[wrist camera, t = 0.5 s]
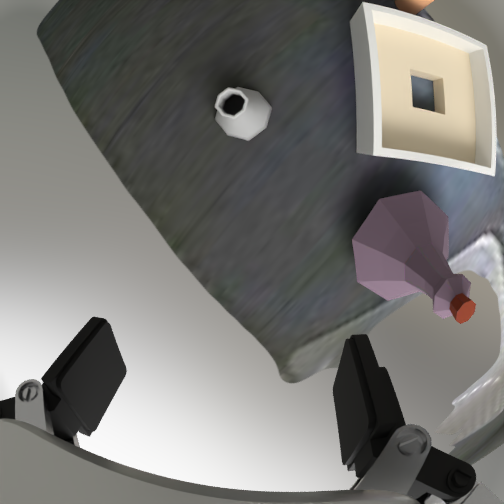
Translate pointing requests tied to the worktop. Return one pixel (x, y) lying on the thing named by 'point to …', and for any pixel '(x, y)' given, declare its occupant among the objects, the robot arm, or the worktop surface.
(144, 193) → the worktop surface
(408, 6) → the peg
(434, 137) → the box
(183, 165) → the worktop surface
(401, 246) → the flask
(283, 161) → the worktop surface
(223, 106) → the flask
